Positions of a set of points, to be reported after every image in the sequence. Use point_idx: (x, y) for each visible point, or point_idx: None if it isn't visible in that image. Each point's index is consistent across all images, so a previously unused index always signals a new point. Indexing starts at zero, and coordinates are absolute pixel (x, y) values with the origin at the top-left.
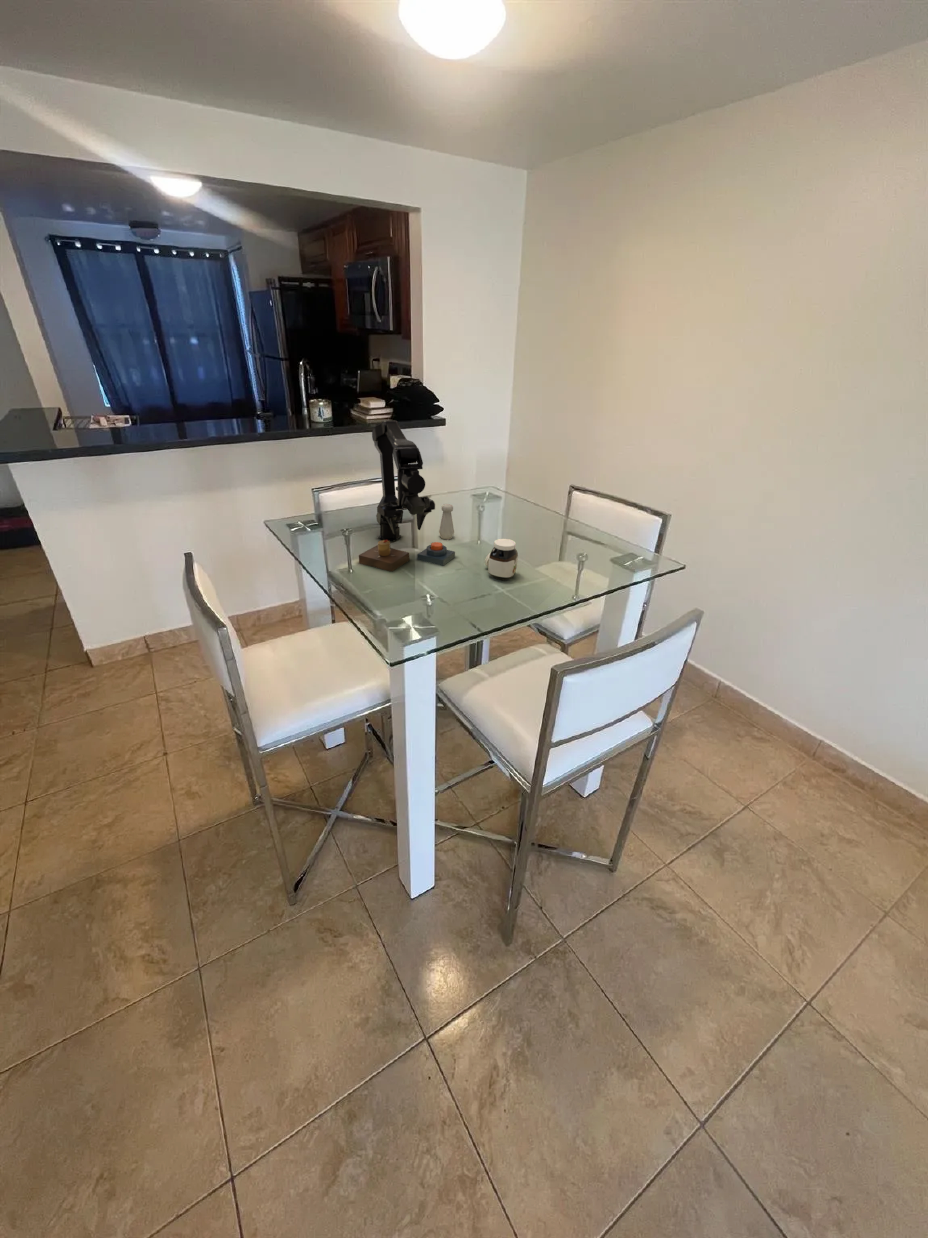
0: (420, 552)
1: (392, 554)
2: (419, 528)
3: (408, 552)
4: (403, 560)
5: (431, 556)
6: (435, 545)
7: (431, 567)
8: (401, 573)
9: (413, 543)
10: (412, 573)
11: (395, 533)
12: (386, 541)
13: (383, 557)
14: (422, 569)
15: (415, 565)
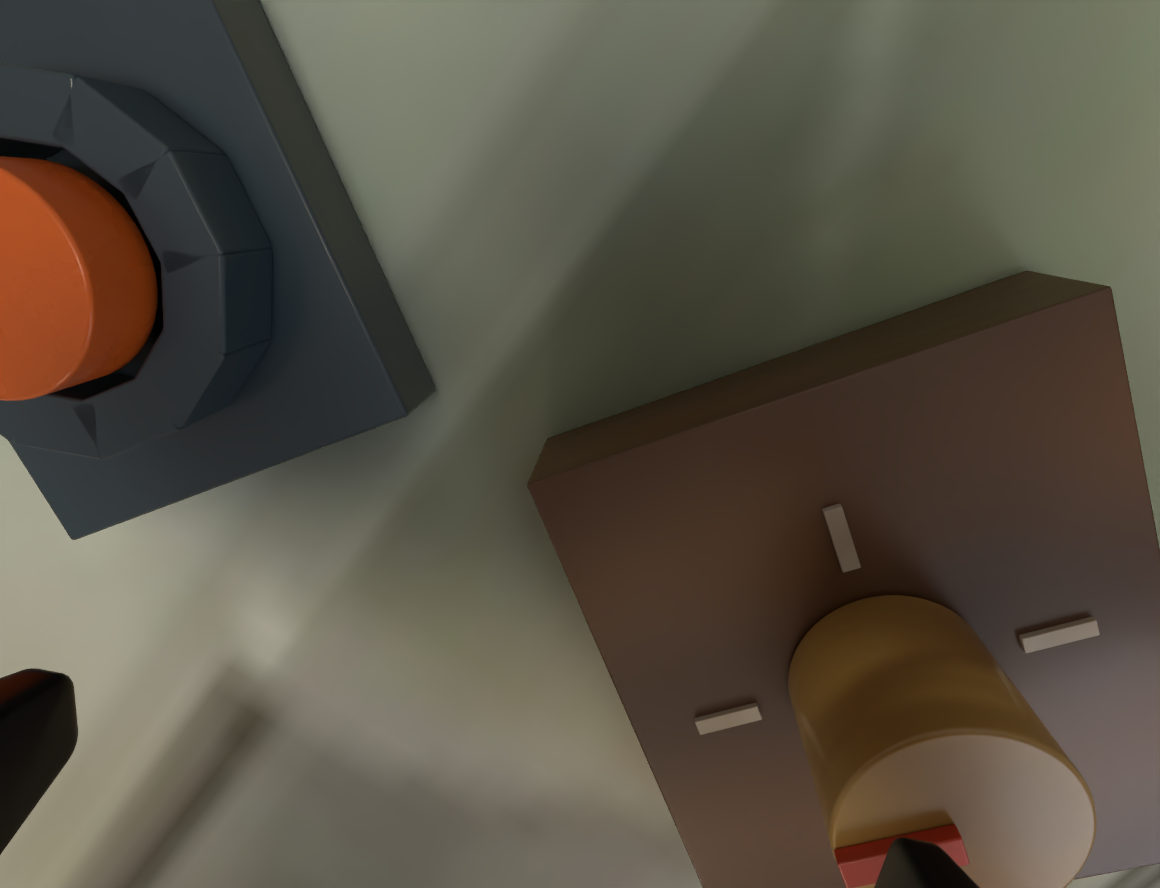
0: (333, 434)
1: (804, 582)
2: (19, 695)
3: (538, 493)
4: (705, 399)
5: (266, 183)
6: (28, 240)
7: (421, 19)
8: (959, 125)
9: (196, 798)
10: (824, 8)
11: (926, 851)
12: (889, 837)
13: (1009, 575)
14: (588, 44)
15: (581, 247)
